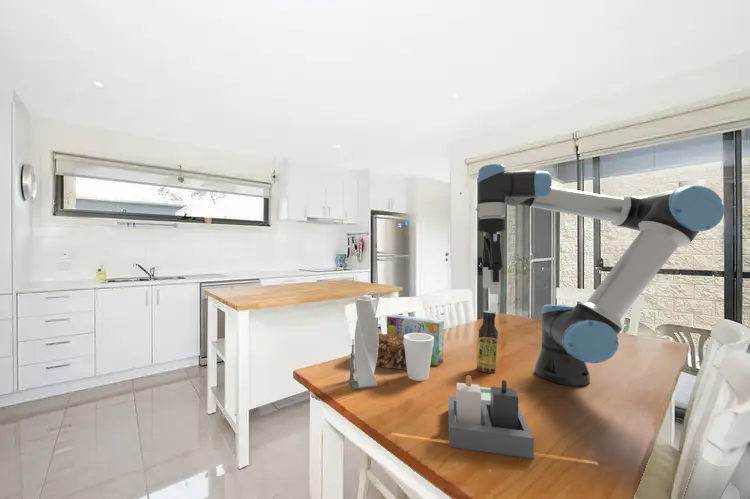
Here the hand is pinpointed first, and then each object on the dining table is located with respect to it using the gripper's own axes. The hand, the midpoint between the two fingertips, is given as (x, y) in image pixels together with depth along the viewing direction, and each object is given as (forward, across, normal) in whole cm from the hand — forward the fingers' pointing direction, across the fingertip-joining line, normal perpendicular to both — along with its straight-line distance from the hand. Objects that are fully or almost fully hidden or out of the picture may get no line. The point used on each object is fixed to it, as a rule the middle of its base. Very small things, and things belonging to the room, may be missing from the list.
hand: (490, 290), depth 93 cm
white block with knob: (+28, +24, -8) cm, 38 cm away
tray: (+28, +10, -4) cm, 30 cm away
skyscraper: (+28, +6, -36) cm, 47 cm away
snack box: (+29, -20, -24) cm, 42 cm away
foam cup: (+28, -2, -21) cm, 36 cm away
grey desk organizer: (+28, +24, -5) cm, 38 cm away
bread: (+29, -13, -34) cm, 46 cm away
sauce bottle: (+29, -13, +1) cm, 32 cm away
